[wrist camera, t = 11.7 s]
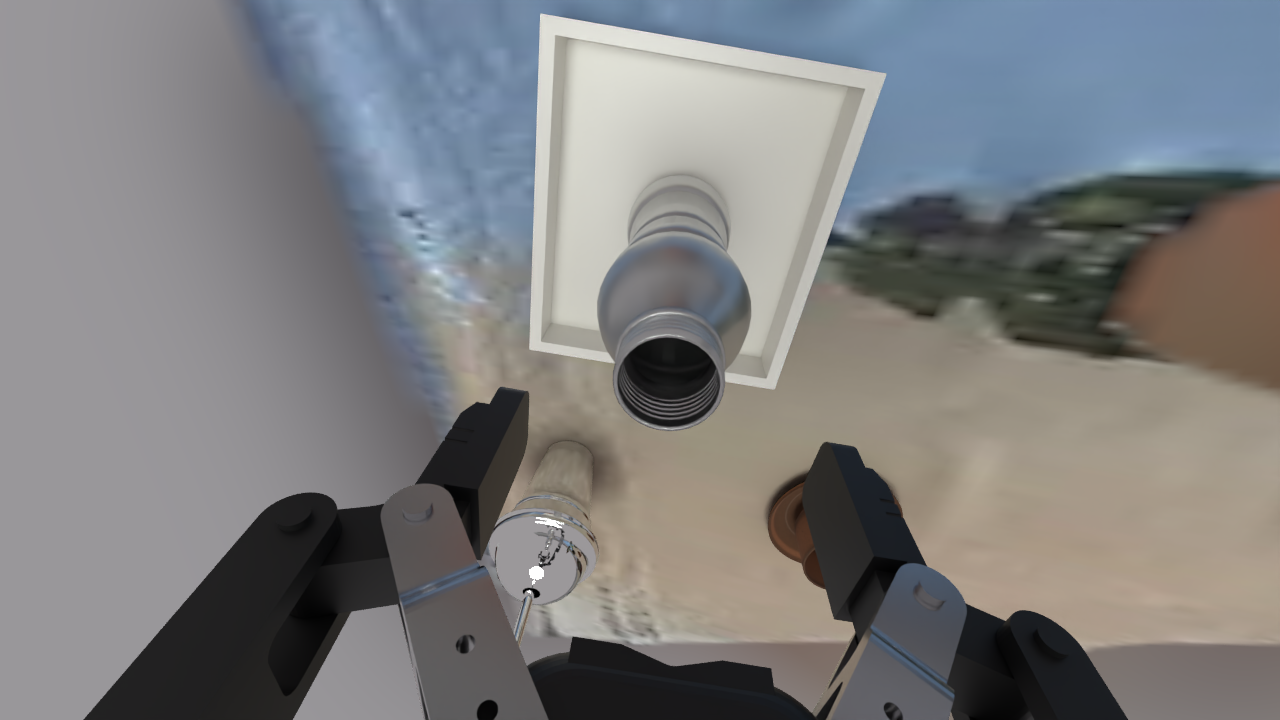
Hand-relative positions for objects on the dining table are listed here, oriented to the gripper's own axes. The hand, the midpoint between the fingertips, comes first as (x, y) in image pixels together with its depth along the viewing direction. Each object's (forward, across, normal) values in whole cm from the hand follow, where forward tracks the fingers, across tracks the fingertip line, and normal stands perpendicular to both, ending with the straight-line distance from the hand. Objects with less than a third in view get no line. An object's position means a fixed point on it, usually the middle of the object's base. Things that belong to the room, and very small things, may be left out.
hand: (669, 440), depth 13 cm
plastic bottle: (+23, 0, 0) cm, 23 cm away
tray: (+24, 0, 0) cm, 24 cm away
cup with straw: (+24, +6, +24) cm, 34 cm away
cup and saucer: (+24, -20, +25) cm, 40 cm away
